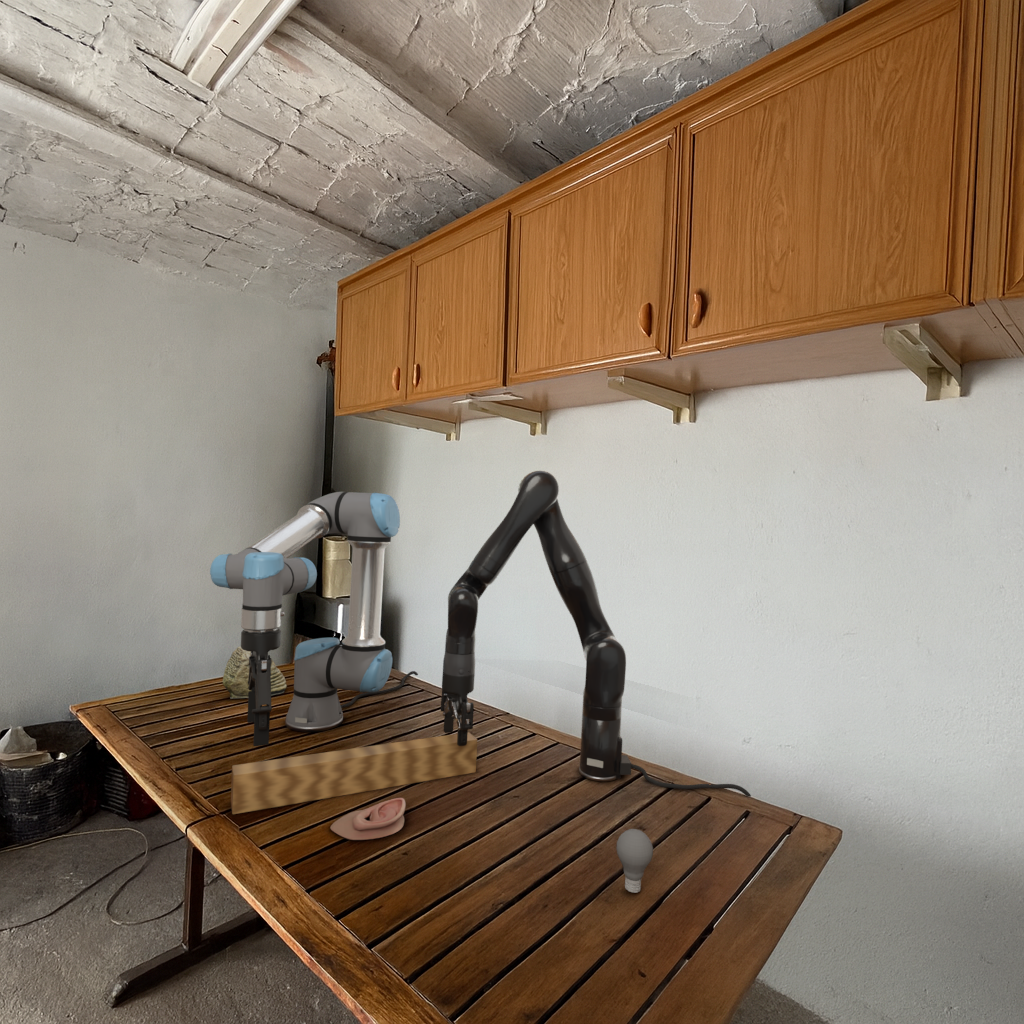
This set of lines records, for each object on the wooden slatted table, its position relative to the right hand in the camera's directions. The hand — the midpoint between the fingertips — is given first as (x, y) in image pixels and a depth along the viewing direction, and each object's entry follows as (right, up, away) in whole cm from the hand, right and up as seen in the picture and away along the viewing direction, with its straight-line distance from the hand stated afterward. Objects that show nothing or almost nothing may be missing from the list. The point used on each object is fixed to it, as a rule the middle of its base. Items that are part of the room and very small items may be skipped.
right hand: (454, 738), depth 149 cm
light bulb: (+34, -10, -44) cm, 56 cm away
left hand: (-38, +8, -20) cm, 44 cm away
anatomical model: (-14, -8, -27) cm, 31 cm away
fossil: (-67, -4, +49) cm, 83 cm away
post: (-19, -7, -10) cm, 23 cm away
